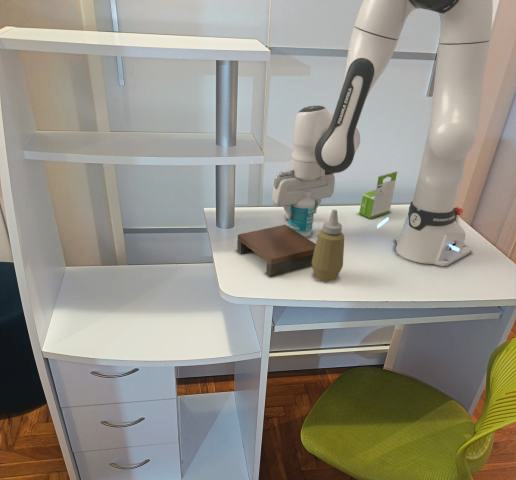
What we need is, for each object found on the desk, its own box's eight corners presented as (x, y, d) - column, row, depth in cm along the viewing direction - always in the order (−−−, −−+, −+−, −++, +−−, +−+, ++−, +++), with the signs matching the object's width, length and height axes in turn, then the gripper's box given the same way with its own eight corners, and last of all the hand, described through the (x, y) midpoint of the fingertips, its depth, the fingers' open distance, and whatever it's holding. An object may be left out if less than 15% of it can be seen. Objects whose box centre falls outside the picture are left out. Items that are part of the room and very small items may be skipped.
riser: (284, 240, 149) (285, 224, 146) (319, 264, 138) (321, 247, 135) (237, 251, 142) (237, 234, 139) (270, 277, 131) (271, 259, 128)
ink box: (377, 207, 175) (385, 166, 166) (390, 212, 171) (399, 171, 163) (358, 214, 169) (365, 172, 161) (370, 219, 166) (378, 176, 158)
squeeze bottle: (316, 285, 128) (325, 217, 118) (305, 270, 134) (312, 205, 124) (346, 282, 130) (357, 215, 120) (333, 268, 136) (343, 203, 126)
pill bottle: (309, 240, 150) (314, 195, 142) (285, 237, 151) (288, 192, 143) (312, 230, 156) (317, 187, 148) (289, 227, 157) (292, 184, 149)
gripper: (281, 176, 136) (277, 225, 144) (340, 167, 145) (333, 213, 153) (268, 169, 140) (265, 217, 148) (326, 161, 149) (321, 206, 157)
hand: (300, 215), depth 151 cm, fingers closed on pill bottle, 7 cm apart
